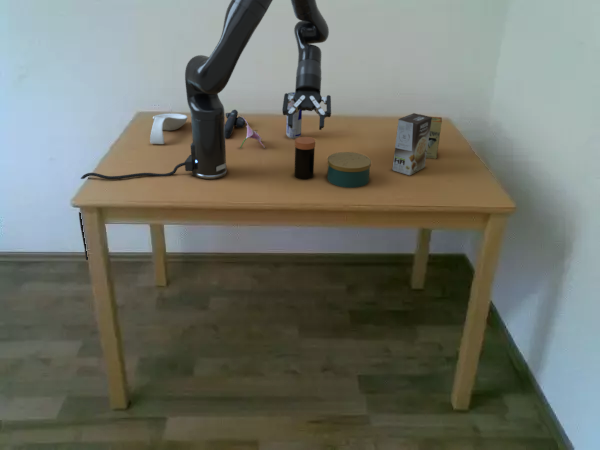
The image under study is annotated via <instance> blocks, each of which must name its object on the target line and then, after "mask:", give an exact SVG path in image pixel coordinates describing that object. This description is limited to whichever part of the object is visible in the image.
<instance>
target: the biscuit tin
mask: <svg viewBox="0 0 600 450" xmlns="http://www.w3.org/2000/svg"><path fill="white" fill-rule="evenodd" d="M371 166H372V159H371V158H370V157H369V156H367V155H365V154H362V153H358V152H352V151H341V152H336V153H332V154H330V155H329V156H328V157H327V177H326V178H327V181H328V182H329V183H330V184H332V185H334V186H337V187H341V188H350V189H352V188H353V189H354V188H360V187H363V186H366V185H368V183H370V172H371Z"/></svg>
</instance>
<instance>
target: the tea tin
mask: <svg viewBox="0 0 600 450" xmlns="http://www.w3.org/2000/svg"><path fill="white" fill-rule="evenodd" d="M315 150H316V139H315V138H314V137H311V136H300V137H298V138H296V139H294V170H293V171H294V172H293V175H294V177H295V178H296V179H297V180H302V181H304V180H305V181H306V180H307V181H308V180H311V179H313V178H314V176H315V175H314V174H315V173H314V172H315V171H314V170H315Z"/></svg>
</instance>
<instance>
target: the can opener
mask: <svg viewBox="0 0 600 450" xmlns="http://www.w3.org/2000/svg"><path fill="white" fill-rule="evenodd" d="M238 114H239V112H238V110H237V109H232V110H231V112H225V114H224V117H225V119H226V120H225V139H229V138H230V137H231V136H232V133H233V131H234V128H239V129H242V128H244V126H245V125H246V121H245V120H246V118H245V117H244V116H241V115H238ZM243 118H244V119H245V120H244V119H243Z"/></svg>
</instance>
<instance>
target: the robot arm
mask: <svg viewBox="0 0 600 450" xmlns="http://www.w3.org/2000/svg"><path fill="white" fill-rule="evenodd" d="M273 1H274V0H230V2H229V4H228V6H227V8H226V11H225V15H224V20H223V26H222V32H221V34H220V38H219V40H218V42H217V44H216V46H215V48H214V49H213V51H212V53H211V54H210V55H209V56H207V55H203V54H200V55H194V56H192V58H190V59H189V61H188V62H187V64H186V66H185V71H184V83H185V92H186V102H187V106H188V108H189V111H190V120H191V121H190V122H191V124H190V125H191V139H192V140H191V141H192V142H191V144H190V154H189V156H187V158H186V159H185V160H184V162H181V163H179V164H177V165H176V166H175V167H174V168H173V170H172V171H170V172H167V173H166V172H165V173H154V172H139V173H137V172H136V173H131V174H130V173H129V174H124V175H105V174H100V173H97V172H87V173H85V174H83V175H81V177H80V179H81V180H84V179H87V177H91V176H92V177H96V178H97V177H98V178H100V179H105V180H121V179H122V180H123V179H129V178H135V177H169V176H173V175H174V174H176V173H177V170H178V169H179V168H182V167H183V166H184V170H185V172H191V174H192V177H197V178H199V179H202V180H215V179H216V180H217V179H220V178H223V177H225V176H226V175H227V171H228V169H227V151H226V149H227V148H226V138H225V124H226V120H225V119H226V116H225V107H224V104H223V103H222V100H221V99H220V97H219V94H220V93H221V92H222V91H223V90H225V88H226V86H227V85H228V83H229V81H230V78H231V77H232V75H233V73H234V71H235V68H236V66H237V64H238V62H239V59H240V57H241V56H242V53H243V52H244V50H245V48H246V47H247V45H248V43H249V41H250V40H251V38H252V37H253V34H254V33H255V31H256V30H257V28H258V26H259V25H260V23H261V22H262V20H263V19H264V17H265V15H266V13H267V12H268V10H269V8H270V7H271V4H272V3H273ZM290 4H291V6H292V10H293V13H294V16H295V19H297V20H298V22H297V23H296V24H295V25H294V29H293V34H294V39H295V42H296V45H297V46H296V47H297V52H298V53H297V54H298V55H297V56H298V57H297V68H296V74H295V90H294V92H295V94H294V96H291V95H288V93H284V95H283V103H282V115H283V116H286V117H287V116H288V126H289V127H290V128H293V115H294V114H295V113H297V112H298V111H299V110H300V109H301V110H302V112H305V111H308V112H313V111H314V112H315V113H316V115H318V116H319V124H318V125H319V127H318V130H319V131H322V129H324V127H325V119H326V118H330V117H332V97H331V95H330V94H328V95H326V96H322V95H321V91H322V90H321V89H322V50H321V48H320V47H319V46H317V45H315V44H323V43H325V42H326V41H327V40H328V38H329V35H330V29H329V26H328V23H327V21H326V20H325V18H324V16H323V15H322V13H321V11H320V9H319V8H318V5H317V0H290ZM291 100H294V102H295V104H294V105H293V107H292V108H291V109H290V110H288V109H287V108H288V103H290V102H291ZM321 103H323V104H324V105H326V106H325V107H326V110H325V111H324V109H323V108H322V106H321V105H320V104H321ZM80 212H81V211H78V219H79V226H80V233H81V238H82V242H83V248H84V255H85V260H86V261H89V260H88V257H87V251H86V244H85V238H84V232H85V231H84V232H83V226H84V224H83V225H82V219H83V218H82V219H81V213H80Z"/></svg>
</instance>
